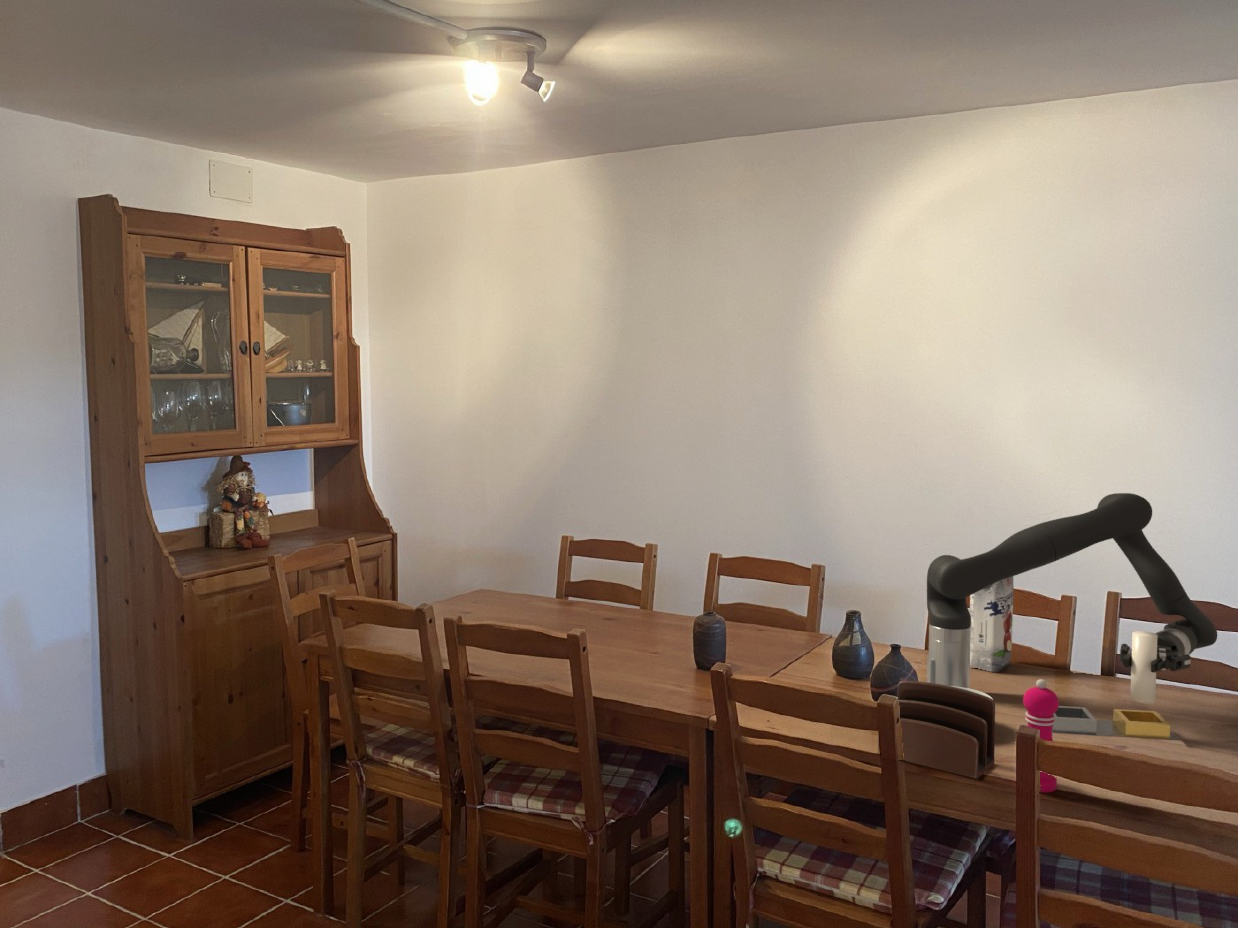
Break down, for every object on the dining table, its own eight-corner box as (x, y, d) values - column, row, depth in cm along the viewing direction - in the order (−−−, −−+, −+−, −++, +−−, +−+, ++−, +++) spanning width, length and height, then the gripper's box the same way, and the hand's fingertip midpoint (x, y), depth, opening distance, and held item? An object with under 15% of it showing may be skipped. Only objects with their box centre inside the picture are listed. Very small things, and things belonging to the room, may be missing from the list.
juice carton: (964, 668, 253) (967, 565, 251) (979, 659, 261) (982, 559, 259) (999, 674, 248) (1002, 569, 245) (1014, 665, 256) (1017, 563, 253)
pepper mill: (1009, 778, 183) (1012, 674, 182) (1046, 777, 184) (1050, 672, 182) (1028, 794, 176) (1032, 686, 175) (1067, 793, 177) (1071, 684, 175)
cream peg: (1134, 702, 203) (1136, 636, 202) (1127, 695, 208) (1129, 630, 206) (1158, 703, 202) (1160, 637, 201) (1150, 696, 207) (1153, 631, 205)
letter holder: (897, 741, 203) (899, 674, 202) (995, 764, 190) (997, 693, 189) (877, 755, 195) (878, 686, 194) (977, 780, 183) (979, 707, 182)
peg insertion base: (1044, 737, 204) (1045, 718, 204) (1033, 721, 214) (1034, 703, 214) (1180, 745, 199) (1181, 726, 199) (1162, 728, 209) (1163, 710, 209)
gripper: (1131, 625, 219) (1103, 640, 207) (1203, 637, 209) (1178, 653, 197) (1130, 658, 219) (1102, 675, 208) (1202, 671, 209) (1177, 690, 197)
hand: (1139, 664), depth 202 cm, fingers closed on cream peg, 4 cm apart
